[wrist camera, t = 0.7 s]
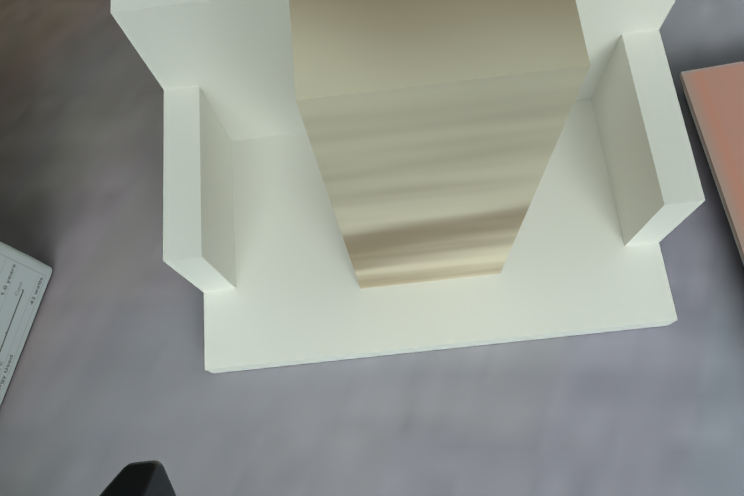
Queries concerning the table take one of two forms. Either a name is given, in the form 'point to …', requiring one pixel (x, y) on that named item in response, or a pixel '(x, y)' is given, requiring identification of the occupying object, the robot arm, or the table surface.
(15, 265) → the light bulb box
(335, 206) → the maple block
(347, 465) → the table surface
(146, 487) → the robot arm
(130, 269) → the table surface
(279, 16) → the white toy sofa
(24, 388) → the table surface
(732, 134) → the notebook
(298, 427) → the table surface
